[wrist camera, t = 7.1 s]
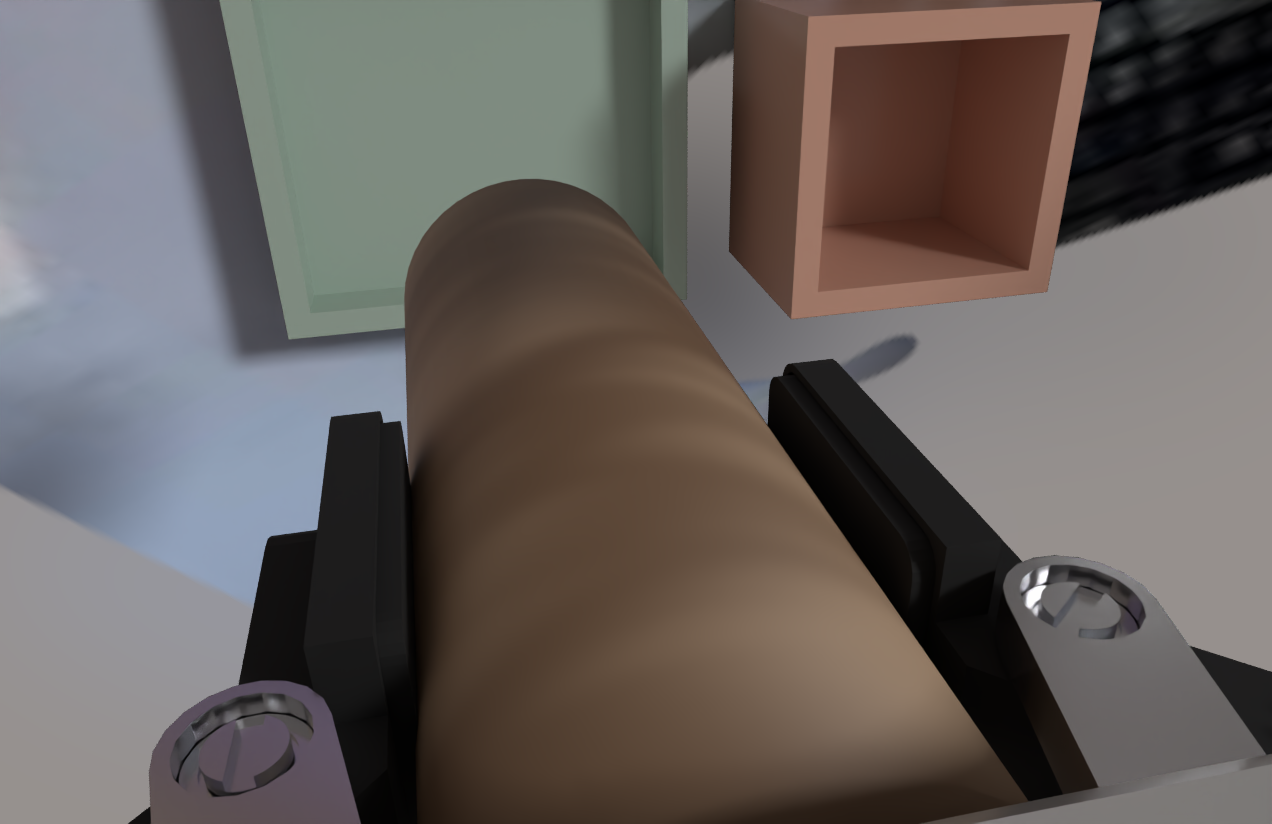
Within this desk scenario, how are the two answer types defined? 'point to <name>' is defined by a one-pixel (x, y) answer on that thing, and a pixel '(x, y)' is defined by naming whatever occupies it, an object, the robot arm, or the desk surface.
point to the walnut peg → (636, 561)
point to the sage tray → (449, 129)
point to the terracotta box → (903, 147)
